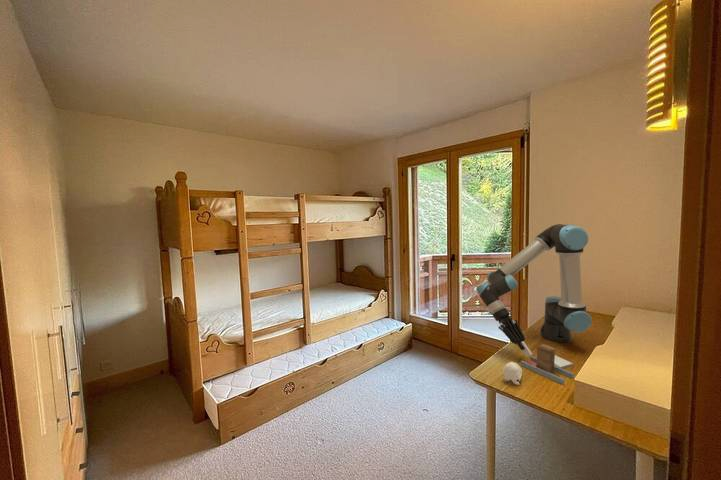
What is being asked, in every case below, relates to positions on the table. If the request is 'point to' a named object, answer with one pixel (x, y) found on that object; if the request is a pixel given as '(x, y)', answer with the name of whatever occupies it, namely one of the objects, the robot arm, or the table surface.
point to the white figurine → (512, 372)
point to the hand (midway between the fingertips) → (529, 355)
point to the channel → (547, 374)
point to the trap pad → (532, 363)
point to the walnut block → (545, 358)
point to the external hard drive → (561, 362)
